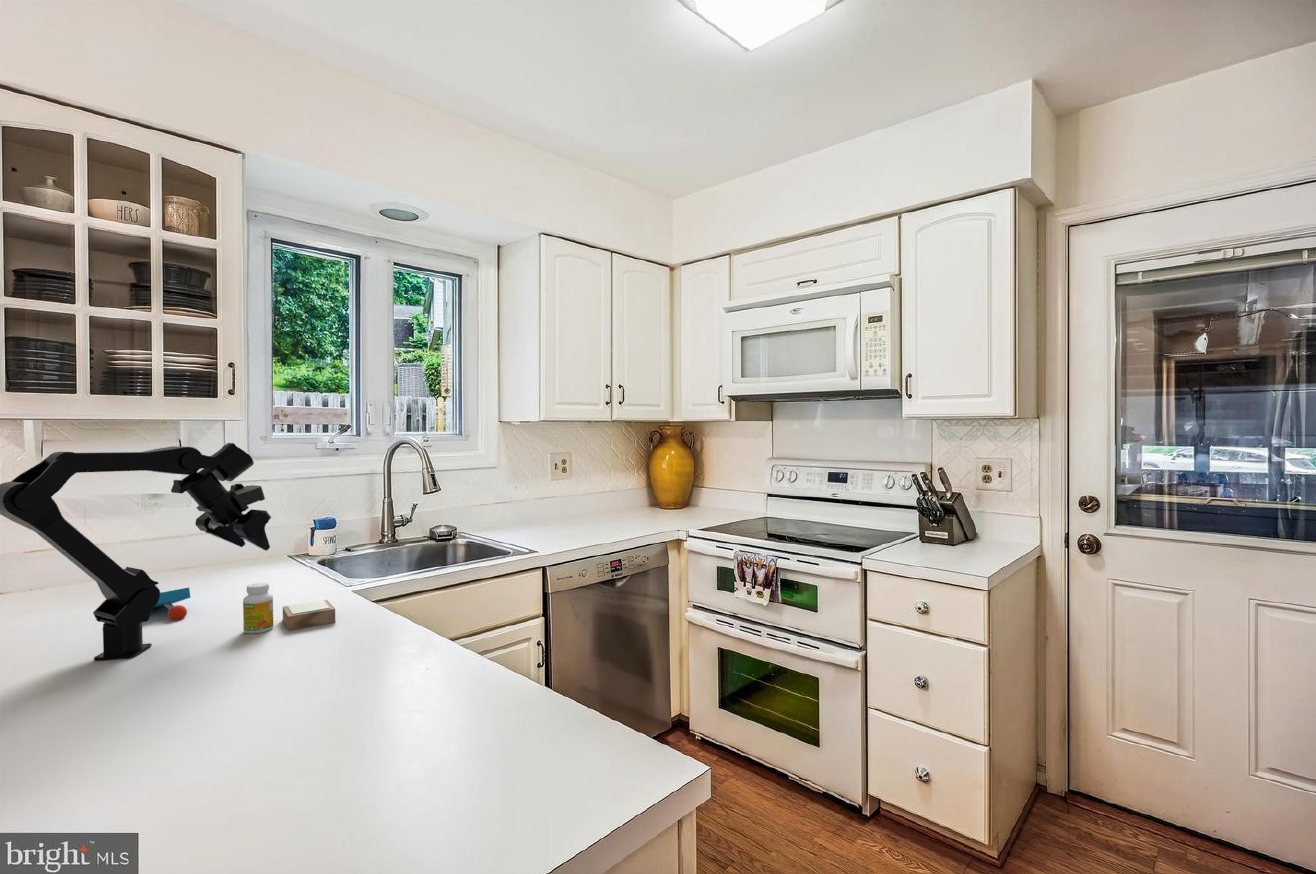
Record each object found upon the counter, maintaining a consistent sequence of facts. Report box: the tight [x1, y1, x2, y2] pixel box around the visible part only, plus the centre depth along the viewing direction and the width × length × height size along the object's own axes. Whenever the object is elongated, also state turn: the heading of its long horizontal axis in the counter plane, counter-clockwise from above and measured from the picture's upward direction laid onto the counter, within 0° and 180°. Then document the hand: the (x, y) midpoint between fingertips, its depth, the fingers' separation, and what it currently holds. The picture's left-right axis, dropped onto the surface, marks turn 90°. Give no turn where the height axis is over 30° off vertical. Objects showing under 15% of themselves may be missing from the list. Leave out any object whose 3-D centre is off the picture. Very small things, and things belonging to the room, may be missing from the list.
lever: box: [153, 587, 191, 621], centre depth 146 cm, size 7×7×18 cm
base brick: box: [282, 599, 336, 631], centre depth 139 cm, size 9×9×3 cm
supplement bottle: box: [242, 582, 274, 635], centre depth 133 cm, size 5×5×10 cm
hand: (255, 547), depth 142 cm, fingers open, 9 cm apart
